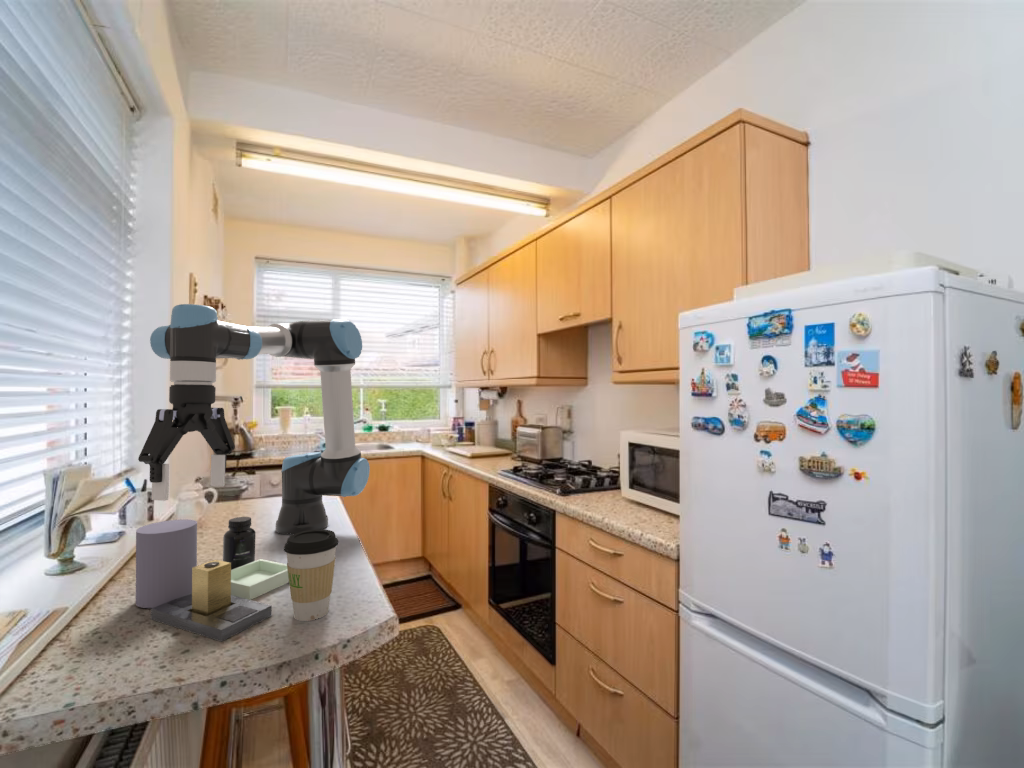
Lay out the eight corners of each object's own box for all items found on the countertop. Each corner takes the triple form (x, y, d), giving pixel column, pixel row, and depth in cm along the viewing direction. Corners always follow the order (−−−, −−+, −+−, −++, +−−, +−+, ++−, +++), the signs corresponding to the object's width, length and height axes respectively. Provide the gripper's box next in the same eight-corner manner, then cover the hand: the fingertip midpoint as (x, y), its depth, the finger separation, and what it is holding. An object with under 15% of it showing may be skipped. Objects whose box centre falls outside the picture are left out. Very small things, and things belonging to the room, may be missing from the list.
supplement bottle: (240, 575, 110) (240, 523, 110) (215, 572, 112) (216, 522, 112) (261, 564, 117) (261, 516, 117) (238, 562, 118) (238, 514, 118)
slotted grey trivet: (203, 597, 98) (203, 587, 98) (271, 615, 90) (271, 604, 90) (150, 619, 89) (150, 608, 89) (221, 641, 81) (221, 629, 81)
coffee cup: (298, 601, 96) (299, 528, 97) (346, 602, 96) (346, 528, 96) (272, 625, 87) (273, 544, 87) (325, 626, 86) (325, 544, 86)
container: (205, 586, 104) (206, 518, 104) (181, 607, 94) (181, 532, 94) (153, 589, 102) (154, 520, 103) (123, 611, 92) (123, 535, 92)
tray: (260, 570, 113) (260, 558, 113) (297, 578, 108) (297, 566, 108) (211, 590, 102) (211, 577, 102) (249, 600, 97) (249, 586, 97)
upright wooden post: (215, 610, 93) (215, 558, 93) (230, 614, 91) (231, 561, 91) (191, 620, 88) (192, 566, 89) (207, 625, 87) (207, 570, 87)
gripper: (223, 385, 105) (222, 480, 105) (114, 382, 81) (111, 506, 80) (254, 385, 104) (252, 481, 104) (152, 381, 80) (149, 507, 79)
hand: (190, 492), depth 92 cm, fingers open, 13 cm apart
